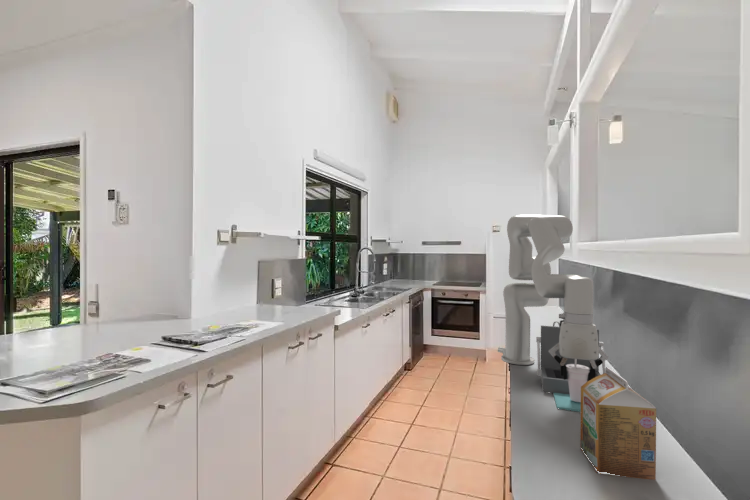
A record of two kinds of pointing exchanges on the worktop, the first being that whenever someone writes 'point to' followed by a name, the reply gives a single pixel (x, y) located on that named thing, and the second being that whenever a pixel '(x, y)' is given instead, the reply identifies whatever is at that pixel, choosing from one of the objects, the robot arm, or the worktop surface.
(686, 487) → the worktop surface
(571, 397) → the smoothie
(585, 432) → the milk carton
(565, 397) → the mat
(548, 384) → the case
